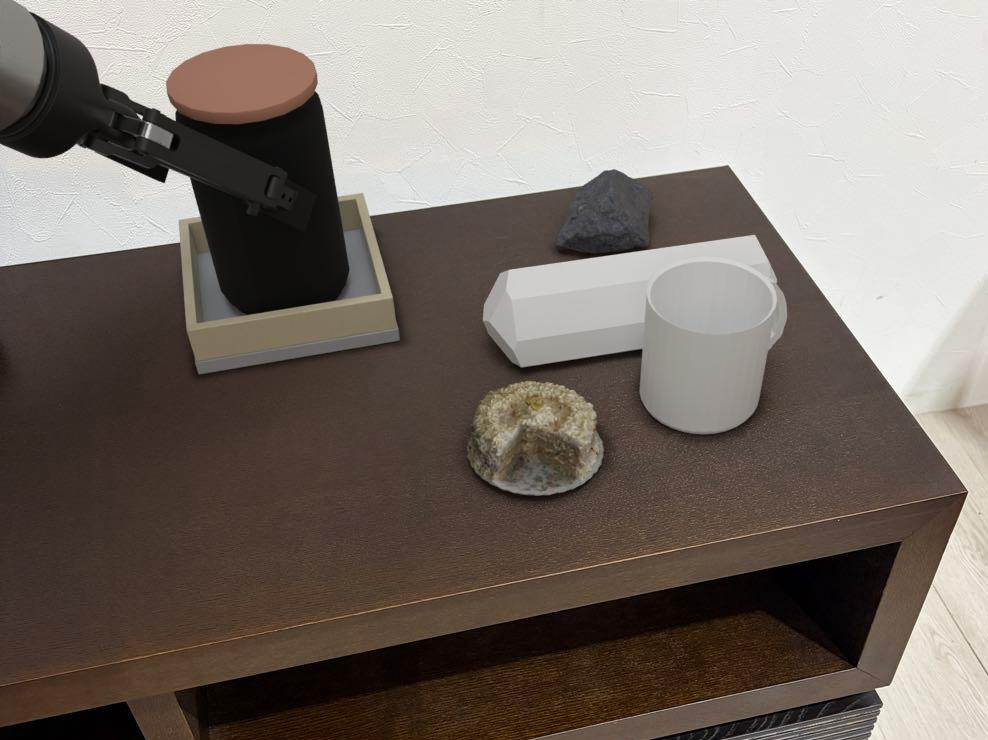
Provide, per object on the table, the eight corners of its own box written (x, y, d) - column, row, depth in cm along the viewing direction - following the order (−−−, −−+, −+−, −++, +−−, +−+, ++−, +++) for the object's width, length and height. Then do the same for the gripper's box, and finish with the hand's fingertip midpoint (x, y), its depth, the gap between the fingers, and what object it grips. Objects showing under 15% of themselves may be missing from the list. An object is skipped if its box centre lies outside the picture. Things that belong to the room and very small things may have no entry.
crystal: (496, 353, 81) (802, 306, 84) (478, 264, 82) (779, 222, 86) (490, 388, 88) (772, 343, 92) (473, 306, 90) (752, 265, 93)
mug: (672, 449, 80) (683, 347, 73) (619, 375, 85) (625, 274, 78) (814, 406, 83) (838, 304, 76) (754, 337, 88) (771, 237, 81)
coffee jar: (368, 258, 94) (337, 48, 81) (327, 334, 87) (285, 119, 74) (251, 245, 96) (201, 37, 82) (201, 318, 89) (138, 105, 75)
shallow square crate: (198, 374, 86) (185, 331, 83) (189, 261, 96) (177, 219, 93) (400, 340, 89) (394, 297, 85) (370, 233, 99) (364, 191, 96)
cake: (455, 424, 83) (450, 365, 79) (583, 404, 84) (584, 344, 80) (481, 510, 76) (477, 449, 72) (621, 486, 77) (623, 425, 73)
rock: (576, 282, 95) (680, 241, 96) (566, 227, 91) (675, 185, 92) (537, 228, 101) (636, 191, 102) (526, 174, 97) (630, 136, 98)
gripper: (-159, 87, 67) (98, 193, 87) (145, 193, 58) (353, 284, 78) (-126, -36, 66) (126, 100, 86) (188, 54, 57) (387, 181, 77)
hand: (235, 188), depth 82 cm, fingers open, 13 cm apart
